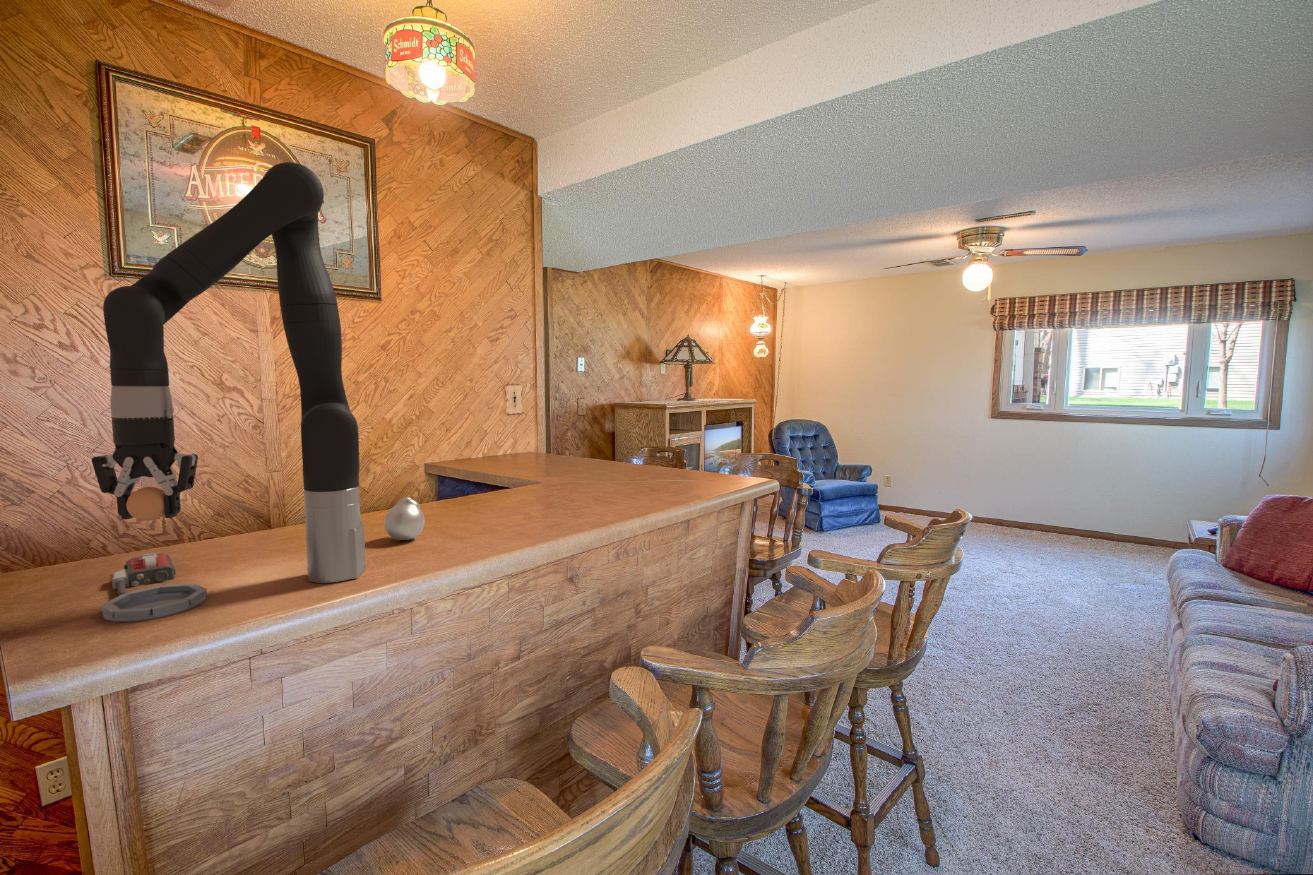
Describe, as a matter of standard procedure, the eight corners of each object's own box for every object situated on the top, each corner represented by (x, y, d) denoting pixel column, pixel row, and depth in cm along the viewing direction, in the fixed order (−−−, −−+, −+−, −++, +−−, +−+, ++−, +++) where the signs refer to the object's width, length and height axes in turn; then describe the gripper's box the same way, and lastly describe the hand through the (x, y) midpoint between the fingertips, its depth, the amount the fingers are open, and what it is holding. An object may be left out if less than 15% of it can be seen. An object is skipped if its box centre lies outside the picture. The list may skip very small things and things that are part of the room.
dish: (221, 589, 105) (220, 581, 105) (179, 618, 92) (178, 608, 92) (136, 594, 102) (135, 586, 102) (81, 625, 90) (80, 615, 89)
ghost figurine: (435, 537, 142) (434, 496, 141) (403, 547, 133) (402, 503, 132) (408, 532, 145) (406, 493, 144) (375, 542, 137) (374, 500, 136)
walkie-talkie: (111, 575, 114) (113, 603, 99) (110, 552, 113) (112, 578, 99) (170, 565, 120) (180, 591, 105) (168, 544, 119) (178, 567, 105)
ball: (179, 515, 99) (177, 483, 99) (159, 523, 94) (156, 489, 93) (141, 517, 98) (139, 484, 97) (119, 525, 93) (116, 490, 92)
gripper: (72, 415, 89) (81, 525, 91) (180, 415, 92) (187, 521, 94) (106, 413, 96) (114, 514, 98) (206, 413, 99) (212, 511, 101)
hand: (150, 517), depth 96 cm, fingers closed on ball, 5 cm apart
